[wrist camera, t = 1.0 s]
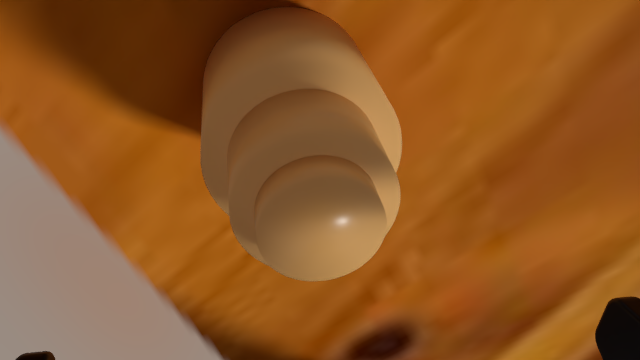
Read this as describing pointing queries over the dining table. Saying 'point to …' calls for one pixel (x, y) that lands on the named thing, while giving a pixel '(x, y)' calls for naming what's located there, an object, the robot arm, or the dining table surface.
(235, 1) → the dining table surface
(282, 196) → the beige tiered cylinder
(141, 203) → the dining table surface
